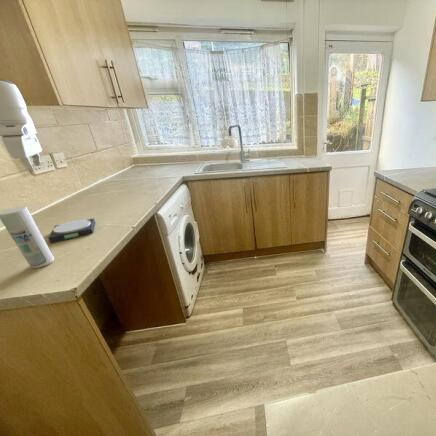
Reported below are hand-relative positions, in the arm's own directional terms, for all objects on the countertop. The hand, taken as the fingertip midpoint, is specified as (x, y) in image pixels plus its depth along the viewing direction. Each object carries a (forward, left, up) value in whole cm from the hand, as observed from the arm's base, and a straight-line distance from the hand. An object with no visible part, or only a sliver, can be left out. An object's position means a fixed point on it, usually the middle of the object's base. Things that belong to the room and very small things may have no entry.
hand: (34, 167), depth 93 cm
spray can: (-3, -23, -29) cm, 38 cm away
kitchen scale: (+3, +2, -29) cm, 29 cm away
